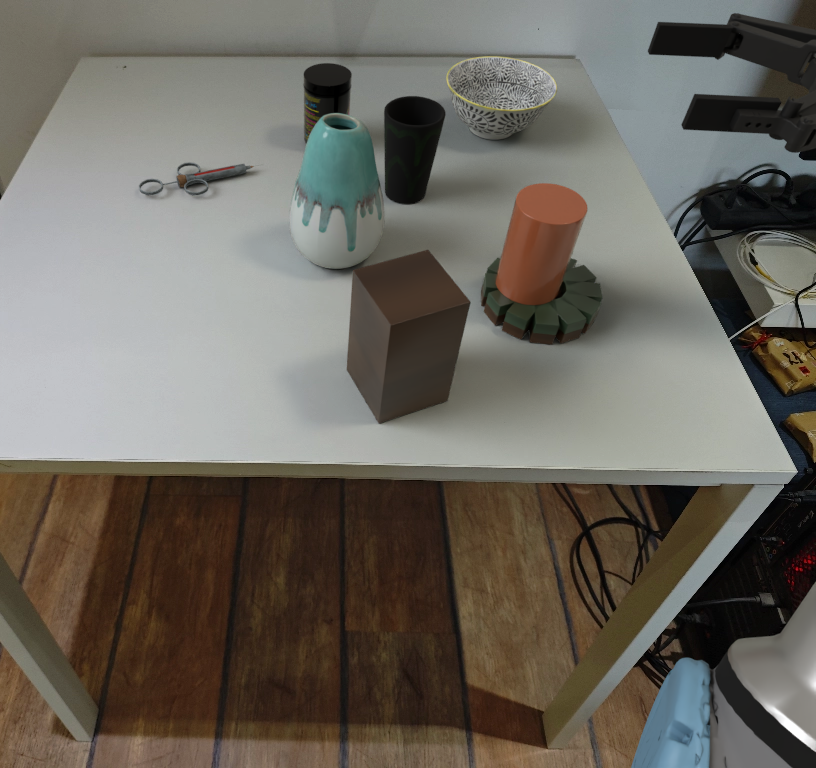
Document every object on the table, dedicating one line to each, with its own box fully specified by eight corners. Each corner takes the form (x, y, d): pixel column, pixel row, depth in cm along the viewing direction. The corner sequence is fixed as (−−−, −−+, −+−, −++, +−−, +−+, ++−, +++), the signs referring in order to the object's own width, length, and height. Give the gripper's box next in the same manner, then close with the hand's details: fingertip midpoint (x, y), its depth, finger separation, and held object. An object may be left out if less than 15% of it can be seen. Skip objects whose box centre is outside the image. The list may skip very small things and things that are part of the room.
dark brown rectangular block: (447, 401, 75) (471, 301, 64) (378, 424, 73) (390, 325, 62) (412, 349, 80) (428, 249, 69) (346, 369, 78) (352, 269, 67)
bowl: (566, 133, 109) (580, 85, 104) (494, 169, 103) (505, 120, 97) (488, 92, 118) (498, 46, 112) (417, 123, 111) (423, 75, 106)
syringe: (273, 184, 101) (272, 173, 100) (146, 210, 97) (143, 199, 96) (256, 155, 106) (256, 145, 104) (134, 179, 102) (132, 168, 100)
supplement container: (335, 159, 105) (338, 90, 97) (295, 147, 107) (294, 79, 99) (356, 137, 109) (360, 69, 101) (316, 126, 111) (317, 59, 103)
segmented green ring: (617, 325, 82) (626, 306, 80) (520, 356, 79) (526, 337, 77) (551, 257, 90) (557, 238, 88) (460, 284, 87) (464, 264, 85)
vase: (361, 215, 96) (370, 85, 82) (395, 269, 89) (411, 137, 75) (278, 233, 94) (273, 102, 80) (306, 289, 86) (306, 156, 73)
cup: (395, 170, 103) (403, 89, 94) (442, 188, 100) (456, 106, 91) (366, 196, 99) (372, 114, 90) (415, 215, 96) (426, 133, 87)
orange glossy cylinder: (566, 304, 80) (597, 223, 72) (502, 306, 80) (525, 225, 72) (549, 262, 85) (576, 181, 77) (489, 264, 85) (508, 183, 76)
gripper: (967, 207, 56) (687, 191, 58) (844, 60, 73) (628, 51, 74) (1041, 117, 51) (728, 102, 52) (890, -20, 67) (655, -29, 68)
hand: (669, 72), depth 63 cm, fingers open, 13 cm apart
